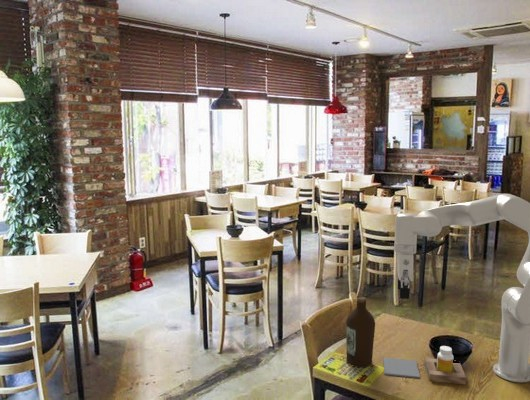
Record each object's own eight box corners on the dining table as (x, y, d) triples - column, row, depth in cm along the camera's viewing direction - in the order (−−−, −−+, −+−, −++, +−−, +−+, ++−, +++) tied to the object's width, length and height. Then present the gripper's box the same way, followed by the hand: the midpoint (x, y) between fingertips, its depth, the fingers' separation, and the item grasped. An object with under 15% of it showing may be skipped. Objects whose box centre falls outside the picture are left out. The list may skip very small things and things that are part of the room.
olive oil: (364, 353, 183) (367, 291, 179) (379, 366, 173) (381, 301, 169) (340, 357, 180) (341, 294, 176) (353, 370, 170) (355, 304, 166)
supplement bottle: (453, 378, 165) (455, 352, 163) (437, 376, 166) (439, 351, 164) (450, 371, 170) (452, 345, 169) (435, 369, 171) (436, 344, 170)
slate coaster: (415, 362, 176) (415, 360, 176) (419, 378, 165) (419, 376, 165) (383, 358, 179) (383, 357, 179) (384, 374, 167) (384, 373, 167)
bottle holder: (458, 367, 173) (459, 360, 172) (465, 384, 161) (466, 377, 161) (424, 364, 175) (424, 357, 174) (429, 380, 163) (429, 374, 163)
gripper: (419, 254, 159) (416, 303, 161) (413, 242, 175) (411, 286, 178) (396, 253, 160) (394, 301, 163) (392, 241, 177) (391, 285, 179)
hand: (403, 293), depth 170 cm, fingers open, 9 cm apart
